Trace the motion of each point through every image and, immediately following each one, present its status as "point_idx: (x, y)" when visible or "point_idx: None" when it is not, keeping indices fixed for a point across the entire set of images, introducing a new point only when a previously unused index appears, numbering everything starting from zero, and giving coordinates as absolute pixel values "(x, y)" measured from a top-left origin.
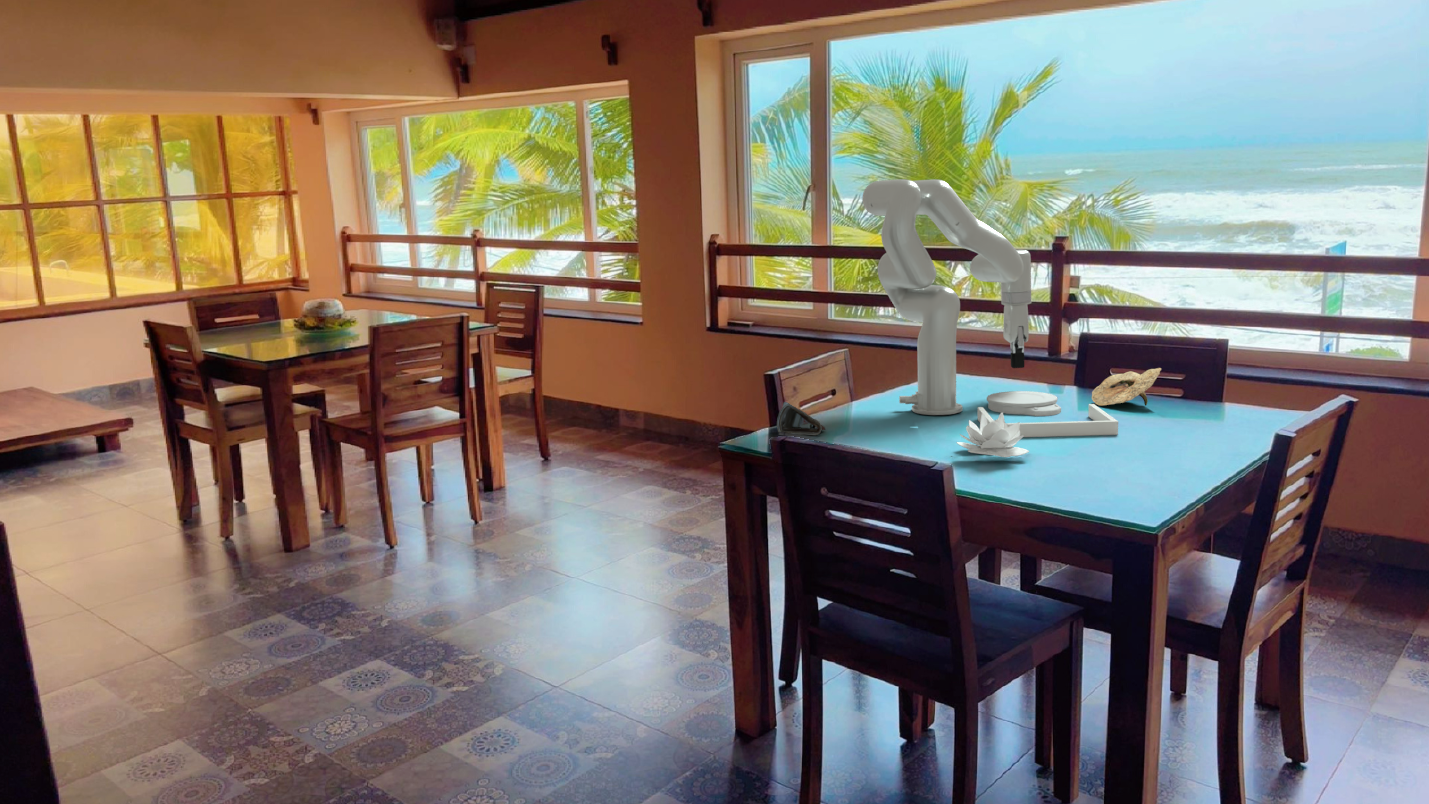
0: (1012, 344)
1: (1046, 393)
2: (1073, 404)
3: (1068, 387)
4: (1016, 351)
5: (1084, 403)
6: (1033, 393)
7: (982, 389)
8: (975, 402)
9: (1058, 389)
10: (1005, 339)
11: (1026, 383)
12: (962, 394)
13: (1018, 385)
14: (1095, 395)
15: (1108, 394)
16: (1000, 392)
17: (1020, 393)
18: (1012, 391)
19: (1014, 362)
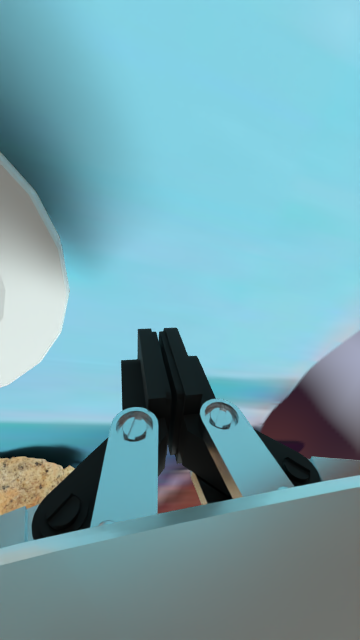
0: (226, 477)
1: (5, 379)
2: (10, 414)
3: (251, 414)
4: (98, 450)
5: (29, 435)
6: (2, 339)
7: (338, 192)
8: (43, 37)
9: (236, 397)
10: (288, 503)
11: (343, 341)
12: (285, 43)
13: (331, 320)
14: (41, 471)
15: (1, 501)
16: (25, 197)
17: (3, 290)
18: (57, 265)
19: (141, 362)
